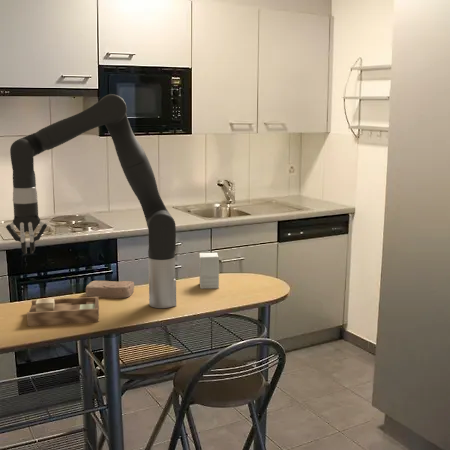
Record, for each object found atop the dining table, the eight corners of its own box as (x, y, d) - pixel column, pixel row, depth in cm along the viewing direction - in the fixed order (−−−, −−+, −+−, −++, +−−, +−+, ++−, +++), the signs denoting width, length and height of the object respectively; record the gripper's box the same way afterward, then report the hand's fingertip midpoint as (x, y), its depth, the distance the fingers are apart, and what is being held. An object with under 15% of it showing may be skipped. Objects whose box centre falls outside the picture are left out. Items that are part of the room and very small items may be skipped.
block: (54, 306, 204) (54, 298, 203) (53, 310, 199) (53, 302, 199) (37, 307, 203) (37, 299, 202) (36, 311, 198) (35, 303, 198)
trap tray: (98, 308, 212) (98, 296, 211) (98, 321, 198) (98, 309, 197) (32, 312, 208) (31, 300, 207) (27, 326, 194) (26, 313, 193)
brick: (84, 297, 225) (84, 285, 224) (92, 290, 233) (92, 278, 232) (128, 299, 223) (128, 287, 222) (134, 292, 231) (134, 280, 230)
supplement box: (217, 283, 243) (218, 252, 240) (218, 288, 235) (219, 256, 233) (199, 283, 242) (199, 252, 240) (199, 288, 235) (199, 256, 233)
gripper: (48, 198, 203) (50, 249, 207) (5, 199, 201) (8, 251, 204) (46, 202, 196) (48, 254, 199) (1, 203, 194) (5, 256, 197)
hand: (28, 252), depth 202 cm, fingers closed
